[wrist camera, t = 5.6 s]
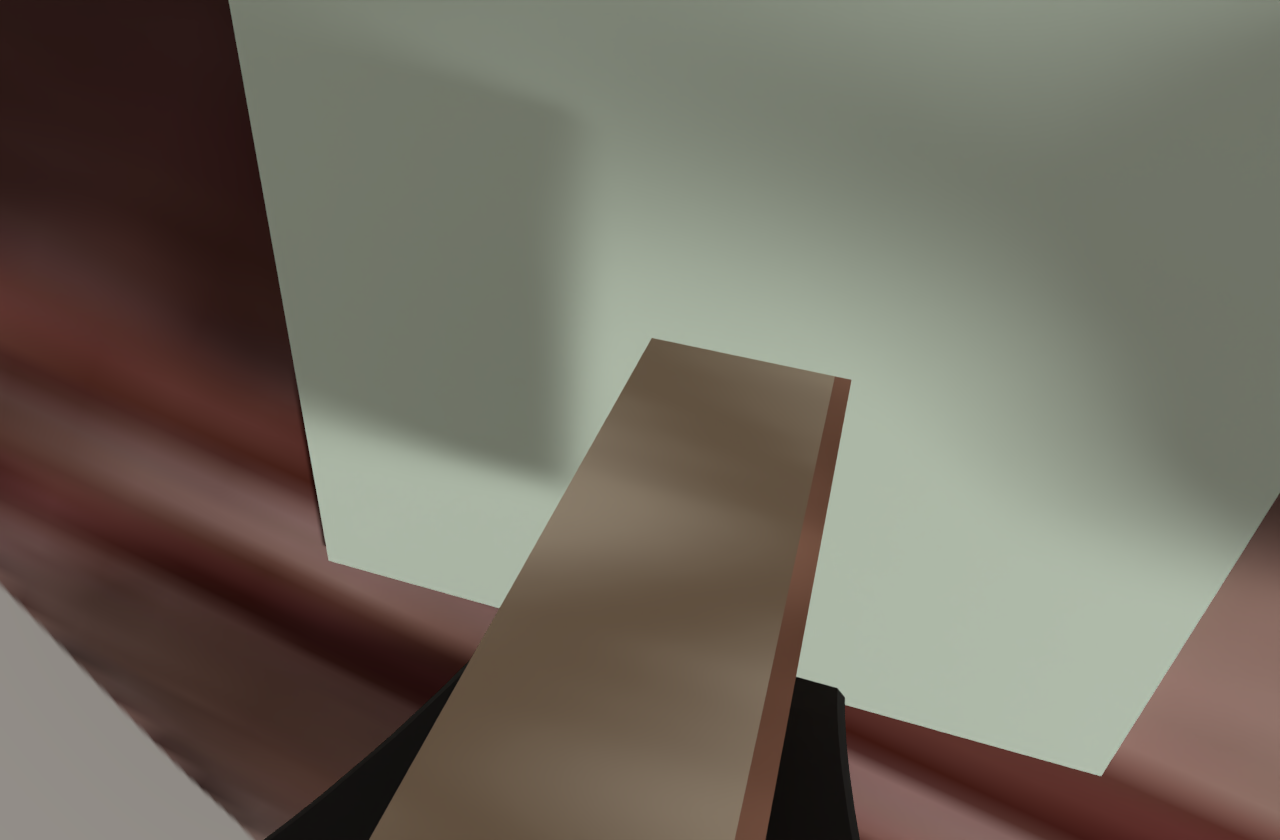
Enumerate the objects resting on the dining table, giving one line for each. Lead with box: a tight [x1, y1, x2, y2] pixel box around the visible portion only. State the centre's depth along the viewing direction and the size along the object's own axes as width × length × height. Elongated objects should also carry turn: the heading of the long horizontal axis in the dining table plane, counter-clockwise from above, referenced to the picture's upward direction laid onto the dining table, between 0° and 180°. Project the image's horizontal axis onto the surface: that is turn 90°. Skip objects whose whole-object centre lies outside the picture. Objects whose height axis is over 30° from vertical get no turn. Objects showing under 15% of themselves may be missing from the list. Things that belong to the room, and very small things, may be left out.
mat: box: [229, 0, 1280, 776], centre depth 18 cm, size 20×18×1 cm
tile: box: [369, 338, 851, 840], centre depth 11 cm, size 2×8×7 cm, turn 176°
